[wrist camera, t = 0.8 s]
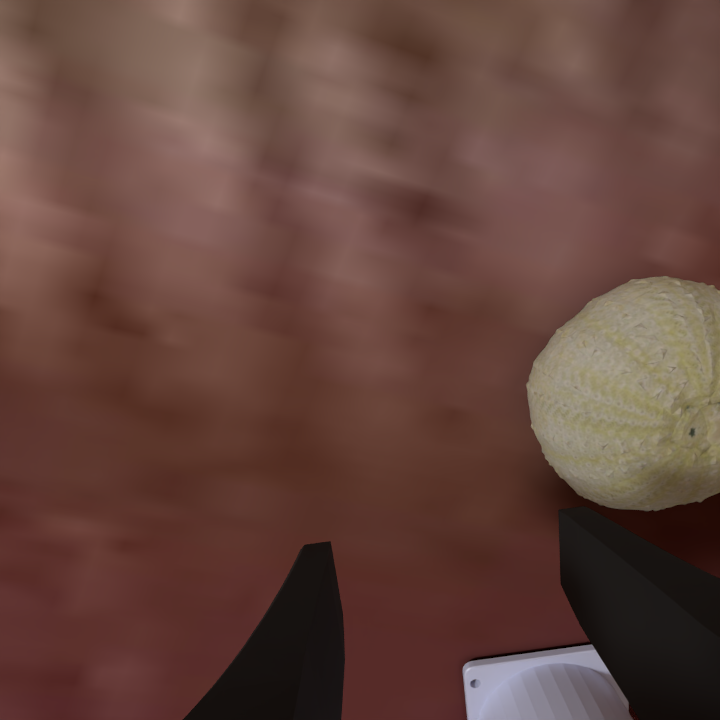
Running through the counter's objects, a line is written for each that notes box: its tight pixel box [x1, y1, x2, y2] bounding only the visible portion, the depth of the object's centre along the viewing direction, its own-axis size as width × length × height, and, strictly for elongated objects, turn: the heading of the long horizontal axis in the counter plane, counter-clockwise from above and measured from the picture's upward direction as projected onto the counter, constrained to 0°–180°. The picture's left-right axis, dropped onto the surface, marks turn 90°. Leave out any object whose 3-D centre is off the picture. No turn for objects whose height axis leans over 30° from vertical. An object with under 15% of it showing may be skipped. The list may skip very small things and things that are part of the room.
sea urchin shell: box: [526, 276, 720, 511], centre depth 19 cm, size 9×8×8 cm
